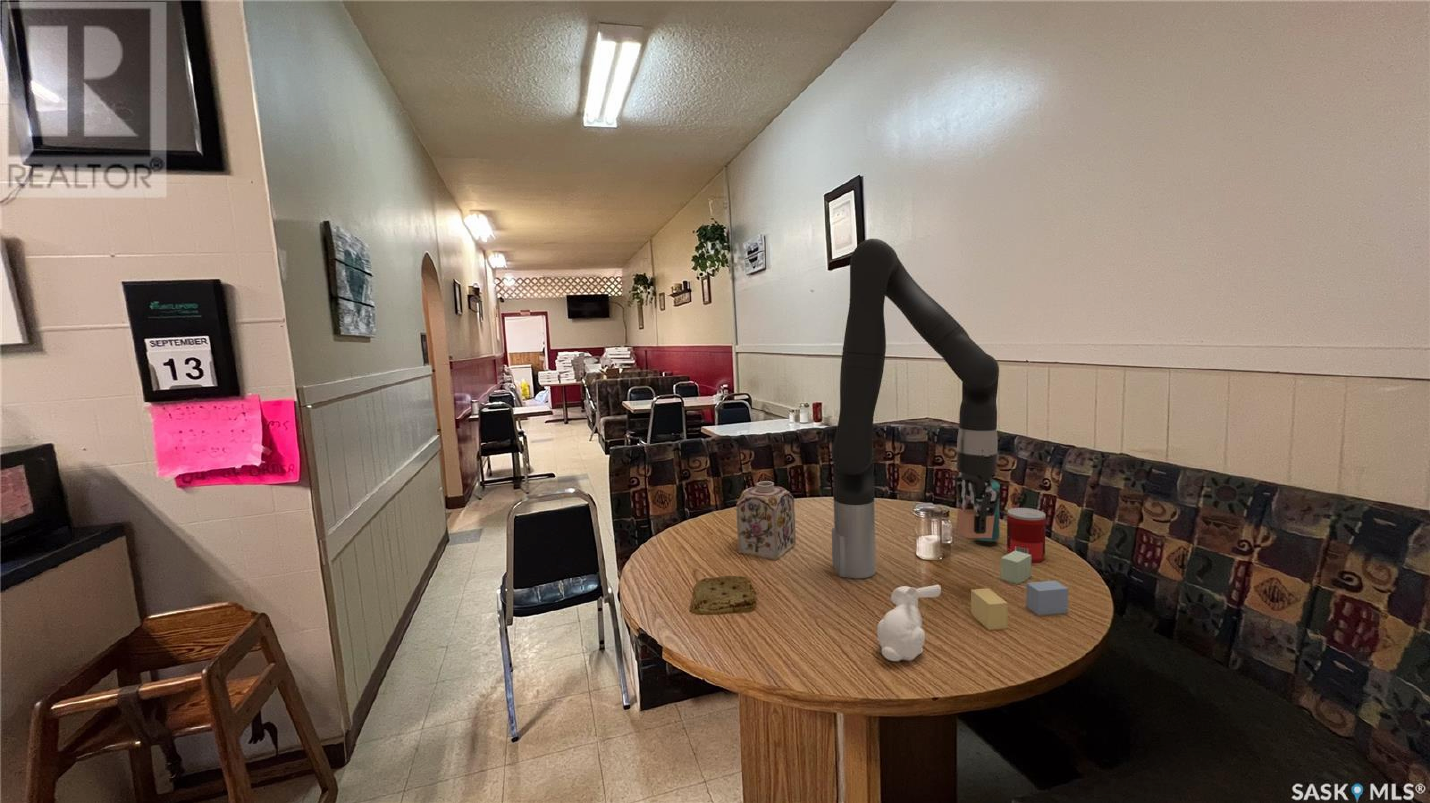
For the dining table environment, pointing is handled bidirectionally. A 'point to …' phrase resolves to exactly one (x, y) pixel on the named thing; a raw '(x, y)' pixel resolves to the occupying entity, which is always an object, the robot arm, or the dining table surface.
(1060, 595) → the slate brick
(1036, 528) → the canned food
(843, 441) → the robot arm
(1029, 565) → the sage brick
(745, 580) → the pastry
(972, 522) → the terracotta brick
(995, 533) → the beverage bottle
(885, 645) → the rabbit
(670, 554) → the dining table surface
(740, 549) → the decorative jar
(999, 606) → the ochre brick
